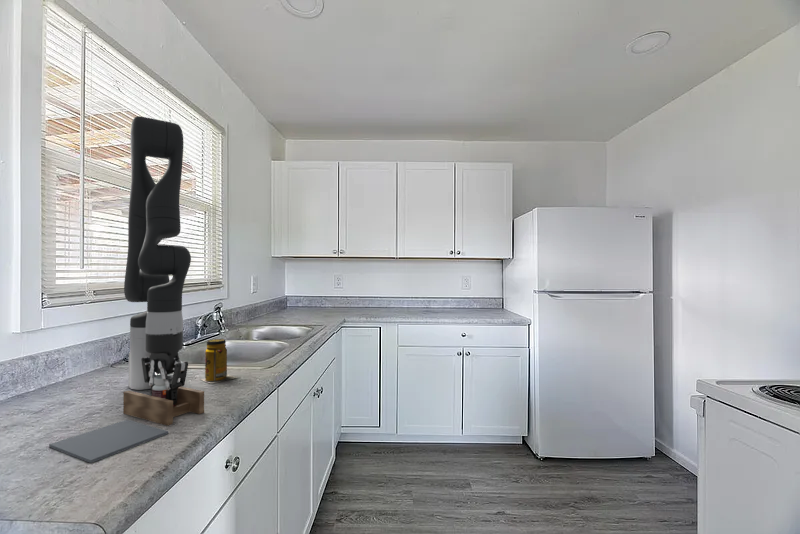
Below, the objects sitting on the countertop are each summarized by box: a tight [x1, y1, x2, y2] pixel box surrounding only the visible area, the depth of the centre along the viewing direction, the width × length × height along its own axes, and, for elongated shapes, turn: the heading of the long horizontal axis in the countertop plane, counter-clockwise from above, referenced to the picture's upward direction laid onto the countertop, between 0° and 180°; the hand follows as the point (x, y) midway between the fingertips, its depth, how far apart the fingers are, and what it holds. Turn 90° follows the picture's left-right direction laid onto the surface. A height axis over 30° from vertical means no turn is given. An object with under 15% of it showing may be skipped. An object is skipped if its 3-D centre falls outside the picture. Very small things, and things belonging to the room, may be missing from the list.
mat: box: [48, 419, 169, 464], centre depth 79 cm, size 14×14×1 cm
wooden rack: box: [122, 386, 205, 427], centre depth 94 cm, size 16×9×5 cm, turn 64°
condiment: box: [199, 338, 238, 385], centre depth 123 cm, size 7×8×12 cm
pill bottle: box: [152, 374, 175, 406], centre depth 94 cm, size 5×5×8 cm
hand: (163, 403), depth 94 cm, fingers closed on pill bottle, 4 cm apart
